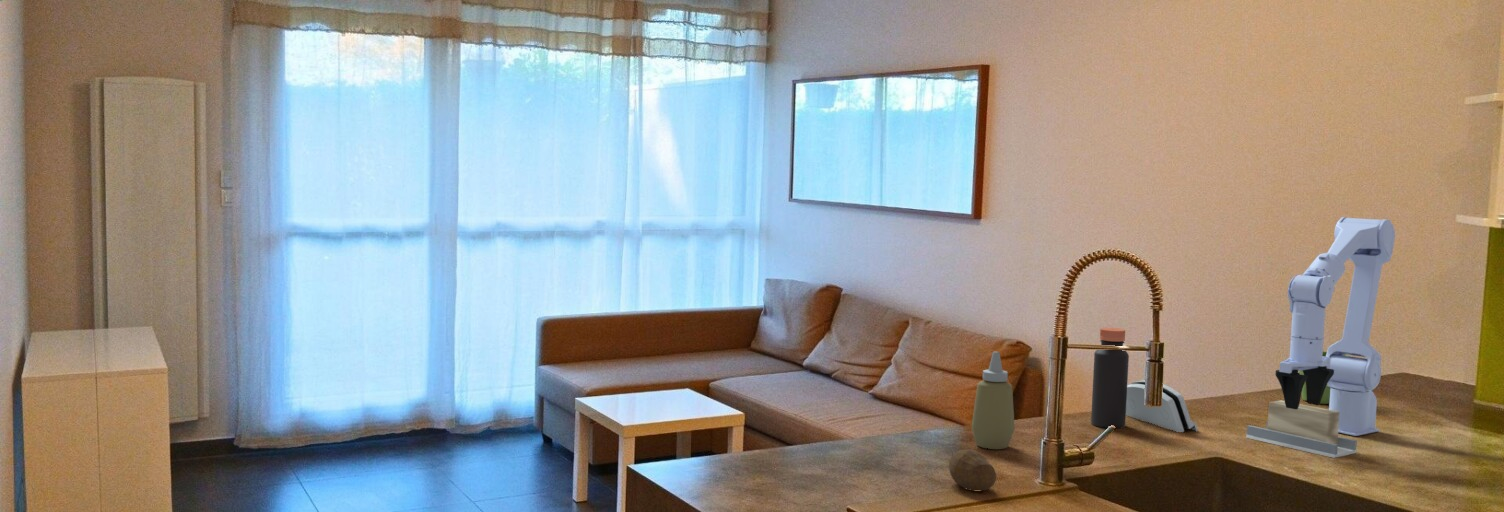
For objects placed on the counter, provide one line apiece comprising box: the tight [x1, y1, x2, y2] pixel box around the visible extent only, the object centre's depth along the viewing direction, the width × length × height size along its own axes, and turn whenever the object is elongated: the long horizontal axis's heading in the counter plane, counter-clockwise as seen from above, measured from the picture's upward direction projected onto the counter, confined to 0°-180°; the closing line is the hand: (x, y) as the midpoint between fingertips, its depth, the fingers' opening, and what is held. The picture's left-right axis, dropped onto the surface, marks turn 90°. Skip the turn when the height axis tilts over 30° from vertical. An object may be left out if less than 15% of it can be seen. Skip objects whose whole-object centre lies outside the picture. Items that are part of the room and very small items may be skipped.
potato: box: [948, 448, 997, 491], centre depth 190 cm, size 7×10×6 cm
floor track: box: [1245, 421, 1358, 459], centre depth 226 cm, size 8×18×2 cm, turn 35°
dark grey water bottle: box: [1090, 327, 1130, 429], centre depth 238 cm, size 7×7×20 cm
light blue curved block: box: [1126, 379, 1199, 433], centre depth 242 cm, size 17×5×10 cm, turn 21°
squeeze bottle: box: [971, 351, 1015, 450], centre depth 218 cm, size 8×8×18 cm
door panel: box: [1267, 400, 1340, 444], centre depth 226 cm, size 4×12×7 cm, turn 35°
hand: (1302, 406), depth 225 cm, fingers open, 7 cm apart
